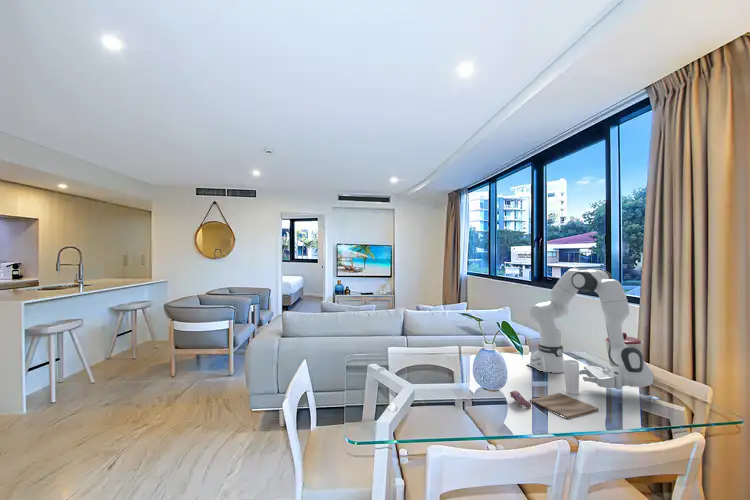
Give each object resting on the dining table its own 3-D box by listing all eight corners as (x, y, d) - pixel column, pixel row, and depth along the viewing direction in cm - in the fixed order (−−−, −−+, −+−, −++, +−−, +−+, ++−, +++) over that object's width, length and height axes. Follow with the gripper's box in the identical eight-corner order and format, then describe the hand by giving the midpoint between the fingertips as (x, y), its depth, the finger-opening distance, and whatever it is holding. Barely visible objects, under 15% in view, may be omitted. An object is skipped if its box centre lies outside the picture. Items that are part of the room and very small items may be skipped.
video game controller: (513, 403, 169) (506, 390, 169) (521, 398, 169) (514, 385, 169) (524, 412, 159) (516, 398, 159) (532, 407, 159) (525, 393, 159)
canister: (598, 368, 207) (596, 331, 208) (619, 363, 214) (617, 328, 215) (631, 377, 191) (629, 337, 191) (653, 372, 198) (650, 333, 198)
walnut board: (530, 401, 166) (529, 399, 166) (559, 394, 172) (559, 392, 172) (566, 419, 147) (566, 416, 147) (598, 410, 154) (598, 408, 154)
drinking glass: (582, 396, 170) (580, 363, 170) (567, 395, 171) (565, 363, 172) (577, 390, 177) (576, 359, 177) (562, 390, 178) (561, 359, 178)
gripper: (603, 363, 181) (572, 362, 184) (621, 376, 161) (587, 375, 164) (603, 375, 181) (573, 375, 184) (622, 390, 161) (588, 389, 164)
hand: (580, 375), depth 173 cm, fingers open, 8 cm apart
